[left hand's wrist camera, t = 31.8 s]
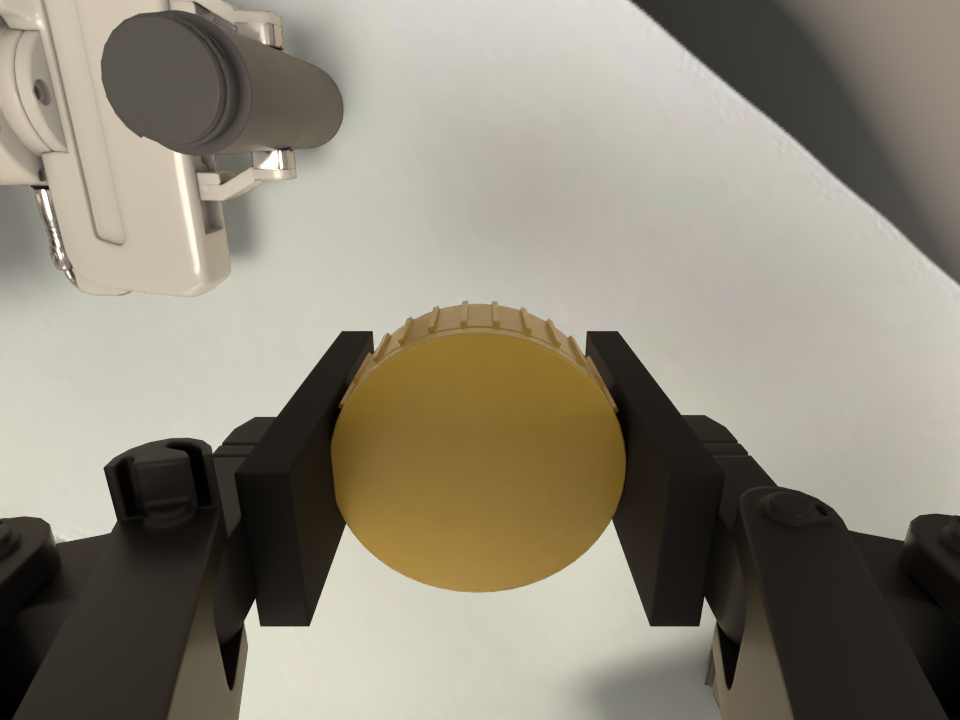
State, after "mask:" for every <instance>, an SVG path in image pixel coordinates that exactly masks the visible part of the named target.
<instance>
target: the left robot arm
mask: <svg viewBox="0 0 960 720" xmlns="http://www.w3.org/2000/svg"><path fill="white" fill-rule="evenodd" d="M368 353H371V354H373V353H374V344H373V331H342V332H341V333H340V335H339V336H338V337H337V338H336V340H335V341H334V342H333V344H332V345H331V346H330V348H329V349H328V350H327V352H326V353H325V354H324V356H323V357H322V358H321V360H320V361H319V362H318V364H317V365H316V366H315V367H314V369H313V370H312V371H311V373H310V374H309V375H308V377H307V378H306V379H305V381H304V382H303V383H302V385H301V386H300V387H299V389H298V390H297V391H296V393H295V394H294V395H293V396H292V398H291V399H290V400H289V402H288V403H287V404H286V406H285V407H284V408H283V410H282V411H281V412H280V414H279V415H278V416H277V417H255V418H253V419H251V420H249V421H248V422H246V423H244V424H242V425H241V426H239V427H237V428H235V429H234V430H233V431H232V432H231V434H230V435H229V436H228V437H227V438H226V439H225V440H224V442H223V443H222V446H219V447H218V448H217V450H216V451H215V452H214V453H213V454H212V448H211V446H210V445H209V444H207V443H206V442H204V441H203V440H197V439H192V438H170V439H165V440H159V441H154V442H149V443H146V444H144V445H141V446H138V447H135V448H132V449H129V450H128V451H126V452H124V453H122V454H120V455H118V456H117V457H115V458H113V459H112V460H111V461H110V462H109V463H108V464H107V465H106V466H105V467H104V472H105V475H106V479H107V483H108V487H109V491H110V494H111V498H112V502H113V506H114V509H115V513H116V517H117V522H116V524H115V526H114V528H113V530H112V532H111V533H109V534H105V535H100V536H95V537H90V538H84V539H79V540H74V541H68V542H63V543H58V544H56V543H55V540H54V537H53V533H52V530H51V527H50V524H48V523H47V522H45V521H44V520H43V519H41V518H34V517H26V516H24V517H15V518H2V519H0V720H238V719H239V711H240V704H241V696H242V688H243V681H244V673H245V666H246V658H247V651H248V643H247V636H246V631H245V625H244V620H245V618H246V616H247V614H248V612H249V610H250V608H251V606H252V604H253V602H254V600H255V598H256V604H257V609H258V615H259V621H260V626H310V623H311V620H312V617H313V615H314V612H315V609H316V606H317V603H318V601H319V598H320V595H321V592H322V589H323V587H324V584H325V581H326V578H327V575H328V573H329V570H330V567H331V564H332V561H333V559H334V556H335V553H336V550H337V547H338V545H339V542H340V539H341V536H342V533H343V531H344V528H345V525H346V522H345V520H344V518H343V516H342V514H341V512H340V510H339V508H338V506H337V503H336V496H335V487H334V478H333V468H332V458H331V437H332V434H333V431H334V427H335V424H336V421H337V419H338V416H339V414H340V412H341V410H342V409H340V408H338V407H339V404H340V402H341V400H342V399H343V397H344V395H345V393H346V391H347V390H348V388H349V386H350V384H351V382H352V381H353V379H354V377H355V375H356V374H357V372H358V370H359V368H360V367H361V365H362V363H363V361H364V359H365V357H366V356H367V354H368ZM588 356H590V357H591V359H592V361H593V363H594V364H595V366H596V368H597V370H598V372H599V374H600V376H601V377H602V379H603V381H604V383H605V385H606V387H607V389H608V391H609V393H610V395H611V397H612V399H613V401H614V402H615V404H616V406H617V408H618V412H616V413H615V414H616V416H617V419H618V421H619V423H620V426H621V430H622V433H623V437H624V441H625V449H626V477H625V482H624V487H623V492H622V495H621V498H620V501H619V504H618V507H617V509H616V511H615V513H614V515H613V517H612V520H613V523H614V526H615V529H616V532H617V534H618V537H619V540H620V543H621V546H622V548H623V551H624V554H625V557H626V560H627V562H628V565H629V568H630V571H631V574H632V576H633V579H634V582H635V585H636V588H637V590H638V593H639V596H640V599H641V602H642V604H643V607H644V610H645V613H646V616H647V618H648V621H649V624H650V626H699V625H700V619H701V613H702V607H703V602H704V596H705V598H706V600H707V602H708V604H709V606H710V608H711V610H712V612H713V614H714V616H715V618H716V625H715V631H714V636H713V641H712V647H711V652H710V657H709V662H708V668H707V674H706V681H705V685H709V686H710V688H711V691H712V693H713V695H714V698H715V700H716V702H717V704H718V706H719V708H720V710H721V717H722V720H960V516H956V515H954V516H951V515H943V514H928V515H920V516H918V517H917V518H915V519H914V520H912V521H911V522H910V526H909V529H908V532H907V535H906V538H905V541H900V540H895V539H890V538H884V537H879V536H874V535H868V534H863V533H858V532H854V531H850V530H848V529H847V527H846V525H845V523H844V521H843V520H842V518H841V517H840V516H839V515H838V514H837V513H836V511H835V510H834V509H833V508H831V507H830V506H828V505H827V504H825V503H824V502H822V501H820V500H819V499H817V498H815V497H812V496H810V495H807V494H805V493H802V492H800V491H796V490H792V489H787V488H783V487H778V486H777V485H776V484H775V483H774V481H773V480H772V479H771V478H770V477H769V476H768V475H767V473H766V472H765V471H764V470H763V469H762V468H761V467H760V466H759V464H758V463H757V462H756V461H755V460H754V459H753V458H752V457H751V456H748V452H747V451H746V450H745V449H744V447H743V446H742V445H741V444H738V441H737V440H736V438H735V437H734V436H733V435H732V434H731V433H730V432H729V431H728V429H727V428H726V427H724V426H723V425H721V424H719V423H717V422H716V421H714V420H712V419H710V418H709V417H707V416H705V415H681V414H680V413H679V411H678V410H677V409H676V408H675V406H674V405H673V404H672V402H671V401H670V400H669V398H668V397H667V396H666V394H665V393H664V392H663V390H662V389H661V388H660V386H659V385H658V384H657V382H656V381H655V380H654V379H653V377H652V376H651V375H650V373H649V372H648V371H647V369H646V368H645V367H644V365H643V364H642V363H641V361H640V360H639V359H638V357H637V356H636V355H635V353H634V352H633V351H632V349H631V348H630V347H629V346H628V344H627V343H626V342H625V340H624V339H623V338H622V336H621V335H620V334H619V332H618V331H587V339H586V353H585V357H588Z"/></svg>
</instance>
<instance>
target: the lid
mask: <svg viewBox="0 0 960 720" xmlns="http://www.w3.org/2000/svg"><path fill="white" fill-rule="evenodd" d="M338 408H340V409H342V410H341V412H340V414H339V416H338V419H337V421H336V424H335V427H334V431H333V434H332V437H331V458H332V468H333V478H334V487H335V496H336V503H337V506H338V508H339V510H340V512H341V514H342V516H343V518H344V520H345V522H346V523H347V525H348V526H349V528H350V529H351V531H352V532H353V534H354V535H355V536H356V538H357V539H358V540H359V541H360V542H361V543H362V544H363V546H364V547H365V548H366V549H367V550H369V551H370V552H371V553H372V554H373V555H374V556H375V557H376V558H377V559H379V560H380V561H382V562H383V563H385V564H386V565H387V566H389V567H390V568H392V569H393V570H395V571H397V572H399V573H401V574H403V575H405V576H406V577H409V578H411V579H414V580H416V581H419V582H421V583H423V584H427V585H431V586H434V587H438V588H441V589H447V590H453V591H461V592H495V591H502V590H509V589H514V588H518V587H522V586H526V585H529V584H532V583H534V582H537V581H540V580H542V579H545V578H547V577H549V576H551V575H553V574H555V573H557V572H559V571H561V570H562V569H564V568H565V567H567V566H568V565H570V564H571V563H573V562H574V561H575V560H577V559H578V558H579V557H580V556H581V555H583V554H584V553H585V552H586V551H587V550H588V549H589V548H590V547H591V546H592V545H593V544H594V543H595V542H596V541H597V540H598V538H599V537H600V536H601V534H602V533H603V532H604V530H605V529H606V527H607V526H608V525H609V523H610V521H611V519H612V517H613V515H614V513H615V511H616V509H617V507H618V504H619V501H620V498H621V495H622V492H623V487H624V482H625V477H626V449H625V441H624V437H623V433H622V430H621V426H620V423H619V421H618V419H617V416H616V414H615V413H616V412H618V408H617V406H616V404H615V402H614V401H613V399H612V397H611V395H610V393H609V391H608V389H607V387H606V385H605V383H604V381H603V379H602V377H601V376H600V374H599V372H598V370H597V368H596V366H595V364H594V363H593V361H592V359H591V357H590V356H588V357H585V356H584V355H583V353H582V352H581V350H580V348H579V346H578V344H577V343H576V341H575V339H574V338H573V337H572V336H570V337H569V338H568V337H566V336H565V335H564V334H563V333H562V332H561V331H559V330H558V329H556V328H555V326H554V324H553V322H552V321H551V320H549V319H548V320H547V321H546V322H545V321H543V320H541V319H539V318H537V317H535V316H534V315H531V314H528V313H527V310H526V309H525V308H522V307H521V309H520V310H517V309H513V308H508V307H504V306H499V305H498V302H494V301H492V305H487V304H468V301H463V302H462V305H458V306H452V307H447V308H443V309H439V306H437V307H434V308H433V311H432V312H430V313H427V314H425V315H423V316H420V317H418V318H416V319H414V320H413V318H412V317H410V318H408V319H407V320H406V323H405V325H404V326H402V327H401V328H399V329H398V330H396V331H395V332H394V333H393V334H392V335H390V334H389V333H387V334H386V335H384V337H383V339H382V341H381V343H380V345H379V347H378V348H377V349H376V351H375V352H374V353H373V354H371V353H368V354H367V356H366V357H365V359H364V361H363V363H362V365H361V367H360V368H359V370H358V372H357V374H356V375H355V377H354V379H353V381H352V382H351V384H350V386H349V388H348V390H347V391H346V393H345V395H344V397H343V399H342V400H341V402H340V404H339V407H338Z"/></svg>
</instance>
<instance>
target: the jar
mask: <svg viewBox="0 0 960 720" xmlns="http://www.w3.org/2000/svg"><path fill="white" fill-rule="evenodd" d="M101 74H102V78H101V80H102V83H103V86H104V90H105V93H106V97H107V99H108V101H109V103H110V105H111V106H112V108H113V110H114V113H115V114H116V115H117V116H118V117H119V119H120V120H121V121H122V122H123V123H124V124H125V125H126V127H127V128H128V129H130V130H131V131H132V132H134V133H135V134H136V135H137V136H139V137H140V138H142V137H143V136H144V137H146V138H148V139H150V140H153V141H155V142H158V143H159V144H160V145H162V146H164V147H166V148H168V149H170V150H172V151H175V152H177V153H181V154H185V155H192V156H205V155H219V154H233V153H247V152H260V151H273V150H284V149H302V148H313V147H318V146H321V145H323V144H325V143H327V142H328V141H330V140H331V139H332V138H333V137H334V135H335V134H336V133H337V131H338V130H339V127H340V125H341V122H342V117H343V103H342V98H341V95H340V92H339V90H338V88H337V86H336V84H335V83H334V81H333V80H332V79H331V78H330V77H329V76H328V75H327V74H326V73H325V72H324V71H323V70H321V69H319V68H318V67H316V66H313V65H311V64H309V63H306V62H304V61H302V60H299V59H297V58H295V57H293V56H290V55H288V54H286V53H283V52H281V51H279V50H276V49H274V48H272V47H270V46H267V45H265V44H263V43H260V42H258V41H256V40H254V39H251V38H249V37H247V36H244V35H242V34H240V33H237V32H235V31H233V30H231V29H228V28H226V27H224V26H221V25H219V24H217V23H214V22H212V21H210V20H208V19H205V18H203V17H201V16H198V15H196V14H193V13H190V12H186V11H179V10H166V11H160V12H150V13H139V14H137V15H134V16H132V17H130V18H128V19H125V20H123V21H122V22H121V23H120V24H119V25H118V26H117V27H116V28H115V29H114V30H112V32H111V34H110V36H109V38H108V40H107V42H106V44H104V49H103V55H102V60H101Z"/></svg>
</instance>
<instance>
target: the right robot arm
mask: <svg viewBox="0 0 960 720" xmlns="http://www.w3.org/2000/svg"><path fill="white" fill-rule="evenodd" d="M166 10H179V11H186V12H190V13H193V14H196V15H198V16H201V17H203V18H205V19H208V20H210V21H212V22H215V20H214V13H215V14H216V15H218V16H220V17H221V18H223V19H225V20H226V21H228V22H230V23H231V24H233V25H234V26H236V32H237V33H240V34H242V35H244V36H247V37H249V38H251V39H254V40H256V41H258V42H260V43H263V44H265V45H267V46H270V47H272V48H274V49H276V50H279V51H283V50H284V44H283V32H282V21H281V17H280V16H279V15H277V14H275V13H273V12H267V11H247V10H239V9H237V8H236V7H234V6H233V5H231V4H229V3H228V2H226V1H225V0H0V185H18V186H28V185H31V187H33V189H34V193H35V197H36V201H37V205H38V208H39V212H40V216H41V219H42V222H44V223H43V224H44V226H45V227H46V228H45V229H46V232H48V233H47V235H48V237H49V242H50V246H49V249H50V254H51V258H52V261H53V263H54V265H55V267H56V268H57V269H58V270H63V271H64V273H65V275H66V276H67V278H68V279H69V280H70V282H71V283H72V284H73V285H74V286H76V287H77V288H78V289H79V290H80V291H81V292H83V293H86V294H90V295H103V296H122V295H126V294H129V293H131V292H133V291H134V292H140V293H147V294H155V295H165V296H177V297H196V296H200V295H203V294H205V293H207V292H209V291H211V290H213V289H214V288H216V287H217V286H218V285H219V284H221V283H222V282H223V281H224V280H225V279H226V278H227V277H228V276H229V274H230V272H231V263H230V256H229V249H228V243H227V236H226V229H225V222H224V215H223V208H222V202H221V201H224V200H228V199H232V198H236V197H239V196H241V195H242V194H244V193H246V192H247V191H249V190H250V189H252V188H253V187H255V186H257V185H258V184H260V183H261V182H263V181H264V180H266V179H269V180H286V179H294V178H297V174H296V164H295V154H294V150H293V149H284V150H273V151H260V152H252V162H253V166H251V167H250V168H248V169H247V170H245V171H243V172H242V173H240V174H239V175H237V176H236V175H235V172H234V171H222V170H217V167H216V161H215V155H205V156H192V155H185V154H181V153H177V152H175V151H172V150H170V149H168V148H166V147H164V146H162V145H160V144H159V143H158V142H155V141H153V140H150V139H148V138H146V137H144V136H143V137H142V138H140V137H139V136H137V135H136V134H135V133H134V132H132V131H131V130H130V129H128V128H127V127H126V125H125V124H124V123H123V122H122V121H121V120H120V119H119V117H118V116H117V115H116V114H115V113H114V110H113V108H112V106H111V105H110V103H109V101H108V99H107V97H106V93H105V90H104V86H103V83H102V80H101V78H102V74H101V60H102V55H103V49H104V44H106V42H107V40H108V38H109V36H110V34H111V32H112V30H114V29H115V28H116V27H117V26H118V25H119V24H120V23H121V22H122V21H123V20H125V19H128V18H130V17H132V16H134V15H137V14H139V13H150V12H160V11H166ZM72 269H73V270H72ZM73 271H74V272H73Z"/></svg>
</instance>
